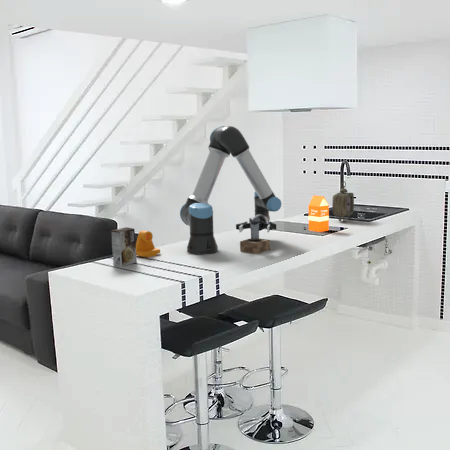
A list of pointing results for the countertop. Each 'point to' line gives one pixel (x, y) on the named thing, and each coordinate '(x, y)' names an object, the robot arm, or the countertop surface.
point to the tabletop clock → (343, 203)
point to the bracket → (145, 245)
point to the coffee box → (123, 246)
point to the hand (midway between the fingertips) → (253, 229)
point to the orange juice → (318, 214)
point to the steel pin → (254, 229)
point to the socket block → (255, 246)
